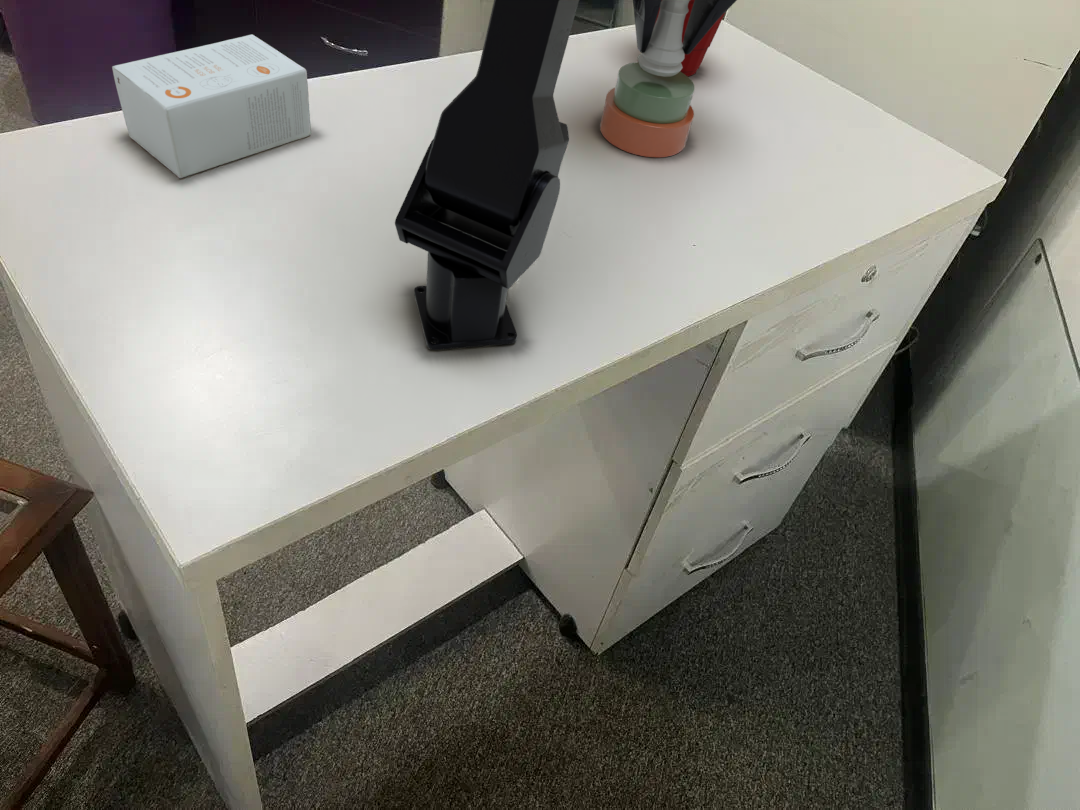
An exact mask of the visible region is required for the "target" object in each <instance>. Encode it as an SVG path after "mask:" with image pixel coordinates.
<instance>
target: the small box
mask: <svg viewBox="0 0 1080 810" xmlns="http://www.w3.org/2000/svg"><path fill="white" fill-rule="evenodd" d="M111 68H112V75H113V79H114V83H115V87H116V91H117V92H116V93H117V96H118V100H119V103H120V107H121V111H122V115H123V118H124V123H125V126H126V130H127V133H128V136H129V138H130V139H132V140H133V141H134V142H135V143H137V144H138V145H139V146H140V147H142V148H143V149H144V150H145V151H146V152H148V153H149V154H150V155H151V156H152V157H153V158H155V159H156V160H157V161H159V163H161V164H162V165H163V166H165V167H166V168H167V169H168V170H169V171H170V172H172V174H174V175H175V176H177V177H178V178H179V179H183V178H186V177H188V176H191V175H195V174H197V173H201V172H204V171H207V170H210V169H213V168H216V167H219V166H222V165H226V164H228V163H231V162H235V161H237V160H240V159H243V158H246V157H249V156H252V155H254V154H258V153H261V152H264V151H267V150H270V149H273V148H275V147H279V146H282V145H285V144H288V143H291V142H295V141H297V140H301V139H304V138H306V137H310V136H311V134H312V126H311V125H312V124H311V113H310V99H309V97H310V95H309V83H308V73H307V69H306V68H305V67H303V66H302V65H300V64H298V63H297V62H295V61H294V60H292V59H291V58H289V57H287V56H286V55H285V54H283V52H282V53H281V52H280V51H278V50H277V49H276V48H274V47H273V46H271V45H270V44H268V43H267V42H265V41H263V40H262V39H260V38H259V37H257V36H255V34H247V35H243V36H239V37H234V38H231V39H226V40H223V41H218V42H214V43H210V44H204V45H200V46H196V47H192V48H187V49H182V50H178V51H177V50H176V51H174V52H169V53H164V54H159V55H156V56H151V57H147V58H142V59H138V60H133V61H130V62H125V63H120V64H116V65H112V66H111Z"/></svg>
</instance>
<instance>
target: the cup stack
mask: <svg viewBox="0 0 1080 810" xmlns="http://www.w3.org/2000/svg"><path fill="white" fill-rule="evenodd" d="M614 86H615V87H612V88H611V89H609V91H608V92H607V93H606V95H605V98H604V105H603V110H602V113H601V117H600V124H599V129H600V133H601V135H602V136H603V138H604V139H605V140H606V141H607V142H609V144H611V145H612V146H614V147H616V148H617V149H620V150H622V151H624V152H627V153H628V154H629V153H630V154H633V155H636V156H641V157H646V158H667V157H671V156H675V155H677V154H679V153H681V152H682V151H683V150H684V148H686V145H687V141H688V138H689V134H690V131H691V128H692V124H693V121H694V118H695V112H694V109H693V107H692V105H691V103H692V99H693V96H694V93H695V90H696V89H695V88H696V87H695V84H694V81H692V79H691V78H690V76H686V75H685V74H683V73H682V72H678V73H677V74H676V75H674V76H668V77H664V76H657V75H654V74H651V73H648V72H646V71H645V70H643V69H642V68H641V67H640V65H639V62H638V61H635V62H631V63H627V64H625V65H623V66H621V67H620V69H619V70H618V73H617V77H616V82H615V85H614Z"/></svg>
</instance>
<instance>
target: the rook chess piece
mask: <svg viewBox="0 0 1080 810" xmlns="http://www.w3.org/2000/svg"><path fill="white" fill-rule="evenodd" d="M689 1H690V0H662V2H661V5H660V11H659V15H658V18H657V21H656V23H655V26H654V29H653V32H652V36H651V39H650V42H649V44H648V46H647V49H646V51H645V53H641V52H640V54H638V56H637V62H639V65H640V67H641V68H642V69H643V70H645V71H646V72H648V73H651V74H654V75H657V76H664V77H668V76H674V75H676V74H677V73H678V72H680V71H681V69H682V68H683V67H682V64H681V62H682V61H683V60H684V59H685V54H684V51H683V49H682V47H683V43H682V32H683V25H684V20H685V16H686V14H687V13H688V12H689V9H688V3H689Z"/></svg>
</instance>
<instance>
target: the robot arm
mask: <svg viewBox="0 0 1080 810" xmlns="http://www.w3.org/2000/svg"><path fill="white" fill-rule="evenodd" d="M661 1H662V0H632V5H633V17H634V27H635V39H636V48H637V50H638V51H639V52H640V54H641V53H645V51H646V49H647V46H648V44H649V42H650V39H651V36H652V32H653V29H654V25H655V22H656V18H657V15H658V11H659V8H660V5H661ZM737 1H738V0H695V1H694V4H693V7H692V11H691V14H690V17H689V20H688V24H687V27H686V30H685V34H684V39H683V47H682V49H683V51H684V53H685V54H690V53H691V51H692V50H693V49H694V48H695V47H696V45H697V44H698V43H699V42H700V41H701V39H702V38H703V37H704V36H705V34H706V33H707V32H708V31H709V30H710V28H711V27H712V26H713V25H714V24H715V23H716V21H717V20H718V19H719V18H720V17H721V16H722V15H723V14H724V13H725V14H726V12H727V11H728V10H729V9H730V8H731V7H732V6H733V5H734V4H735V3H736V2H737ZM579 2H580V0H493V4H492V7H491V12H490V16H489V21H488V25H487V28H486V29H487V30H486V34H485V38H484V43H483V47H482V51H481V55H480V61H479V64H478V68H477V70H476V71H477V72H476V75H475V76H474V77H473V78H472V80H471V81H470V82H469V83H468V84H467V85H466V86H465V87H464V88H463V89H462V90H461V91H460V92H459V93H458V94H457V95H456V97H454V99H452V100H451V102H450V103H449V104H447V106H446V107H444V109H443V110H442V111H441V114H440V116H439V120H438V124H437V126H436V129H435V134H434V137H433V138H432V140H431V141H430V143H429V145H428V147H427V149H426V151H425V153H424V155H423V158H422V160H421V163H420V164H419V167H418V169H417V171H416V173H415V175H414V178H413V180H412V182H411V184H410V187H409V188H408V191H407V193H406V195H405V197H404V199H403V202H402V204H401V207H400V208H399V211H398V212H397V215H396V218H395V220H394V226H395V229H396V232H397V236H398V239H399V241H400V242H403V243H405V244H410V245H412V246H414V247H417V248H419V249H421V250H424V251H425V252H427V261H426V262H427V264H426V265H427V266H426V282H425V283H426V285H418V286H416V287H414V289H413V296H414V300H415V304H416V309H417V312H418V316H419V321H420V324H421V329H422V332H423V337H424V340H425V345H426V347H427V349H429V350H431V351H432V350H433V351H438V350H450V349H463V348H476V347H487V346H498V345H499V346H500V345H501V346H502V345H510V344H511V345H513V344H515V343H517V340H518V333H517V330H516V327H515V324H514V322H513V318H512V315H511V313H510V311H509V308H508V305H507V297H508V290H509V289H510V288H511V287H512V286H513V285H514V284H515V283H516V282H517V281H518V279H520V278H521V277H522V276H523V274H524V273H525V272H526V271H527V270H528V269H529V268H530V267H531V266H532V265H533V264H534V263H535V262H536V261H537V260H538V259H539V257H540V256H541V254H542V250H543V247H544V243H545V241H546V237H547V234H548V231H549V228H550V224H551V221H552V219H553V215H554V212H555V208H556V207H557V206H556V205H557V202H558V199H559V195H560V191H561V179H560V177H559V173H560V169H561V165H562V162H563V159H564V156H565V154H566V151H567V147H568V145H569V142H570V135H569V125H568V124H567V123H564V122H562V121H560V119H559V116H558V111H557V107H556V103H555V99H554V93H555V89H556V85H557V82H558V77H559V74H560V71H561V67H562V63H563V60H564V56H565V53H566V49H567V47H568V46H567V45H568V43H569V39H570V35H571V31H572V27H573V24H574V20H575V17H576V14H577V9H578V6H579ZM725 14H724V15H725Z"/></svg>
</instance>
